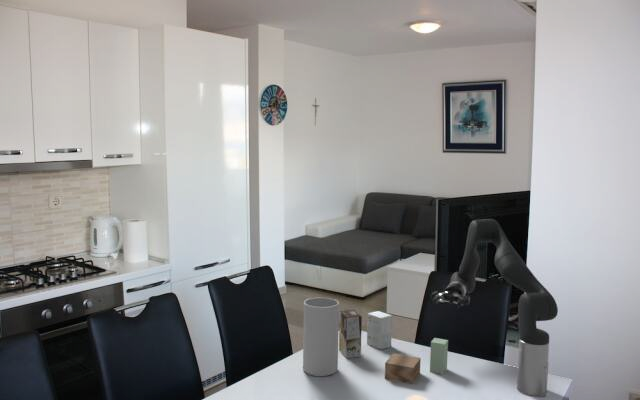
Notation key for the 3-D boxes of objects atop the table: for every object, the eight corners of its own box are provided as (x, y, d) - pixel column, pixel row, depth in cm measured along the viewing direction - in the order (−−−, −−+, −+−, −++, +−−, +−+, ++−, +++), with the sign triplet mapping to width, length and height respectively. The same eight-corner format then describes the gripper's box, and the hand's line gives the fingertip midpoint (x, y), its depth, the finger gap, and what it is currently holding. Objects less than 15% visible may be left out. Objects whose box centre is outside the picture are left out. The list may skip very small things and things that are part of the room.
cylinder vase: (342, 367, 205) (344, 300, 203) (329, 379, 194) (330, 309, 191) (312, 361, 210) (313, 296, 208) (296, 373, 199) (297, 304, 197)
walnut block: (420, 374, 200) (420, 357, 200) (412, 384, 191) (413, 367, 191) (393, 369, 204) (393, 353, 204) (384, 379, 195) (385, 362, 195)
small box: (391, 346, 227) (392, 315, 226) (380, 349, 223) (381, 318, 222) (377, 340, 233) (378, 310, 232) (366, 344, 229) (367, 313, 228)
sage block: (446, 369, 205) (448, 340, 203) (443, 374, 200) (444, 344, 199) (433, 366, 207) (434, 337, 206) (429, 371, 202) (430, 342, 201)
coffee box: (361, 356, 215) (362, 316, 214) (346, 358, 213) (346, 317, 212) (353, 348, 224) (354, 309, 222) (338, 350, 222) (338, 310, 220)
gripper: (438, 280, 228) (428, 290, 213) (473, 285, 222) (466, 295, 207) (437, 298, 229) (427, 310, 214) (472, 303, 223) (465, 315, 208)
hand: (446, 303), depth 211 cm, fingers open, 8 cm apart
